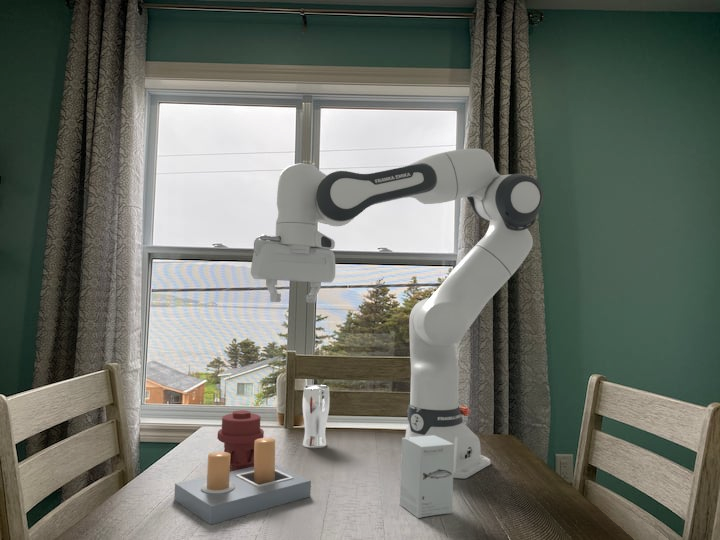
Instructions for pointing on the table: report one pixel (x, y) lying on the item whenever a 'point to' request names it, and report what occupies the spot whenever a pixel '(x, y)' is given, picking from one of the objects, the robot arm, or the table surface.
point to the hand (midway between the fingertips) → (293, 302)
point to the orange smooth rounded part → (264, 460)
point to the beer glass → (315, 415)
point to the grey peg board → (237, 490)
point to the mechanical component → (240, 437)
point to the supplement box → (427, 475)
